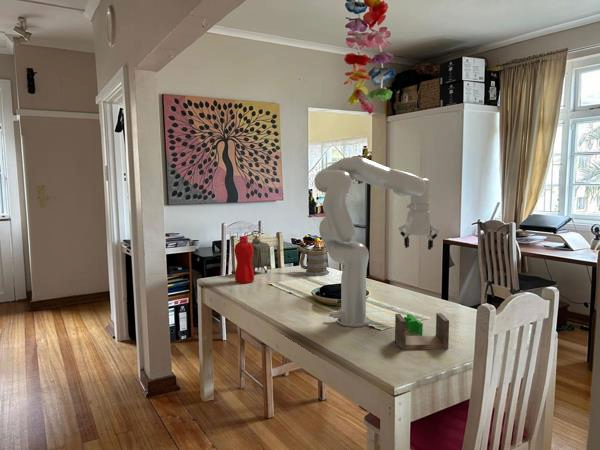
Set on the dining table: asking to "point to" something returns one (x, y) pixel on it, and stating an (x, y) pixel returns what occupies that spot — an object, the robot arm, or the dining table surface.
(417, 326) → the pipe clamp
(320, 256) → the tankard
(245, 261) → the water bottle
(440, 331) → the bracket
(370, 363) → the dining table surface
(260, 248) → the grey bag
